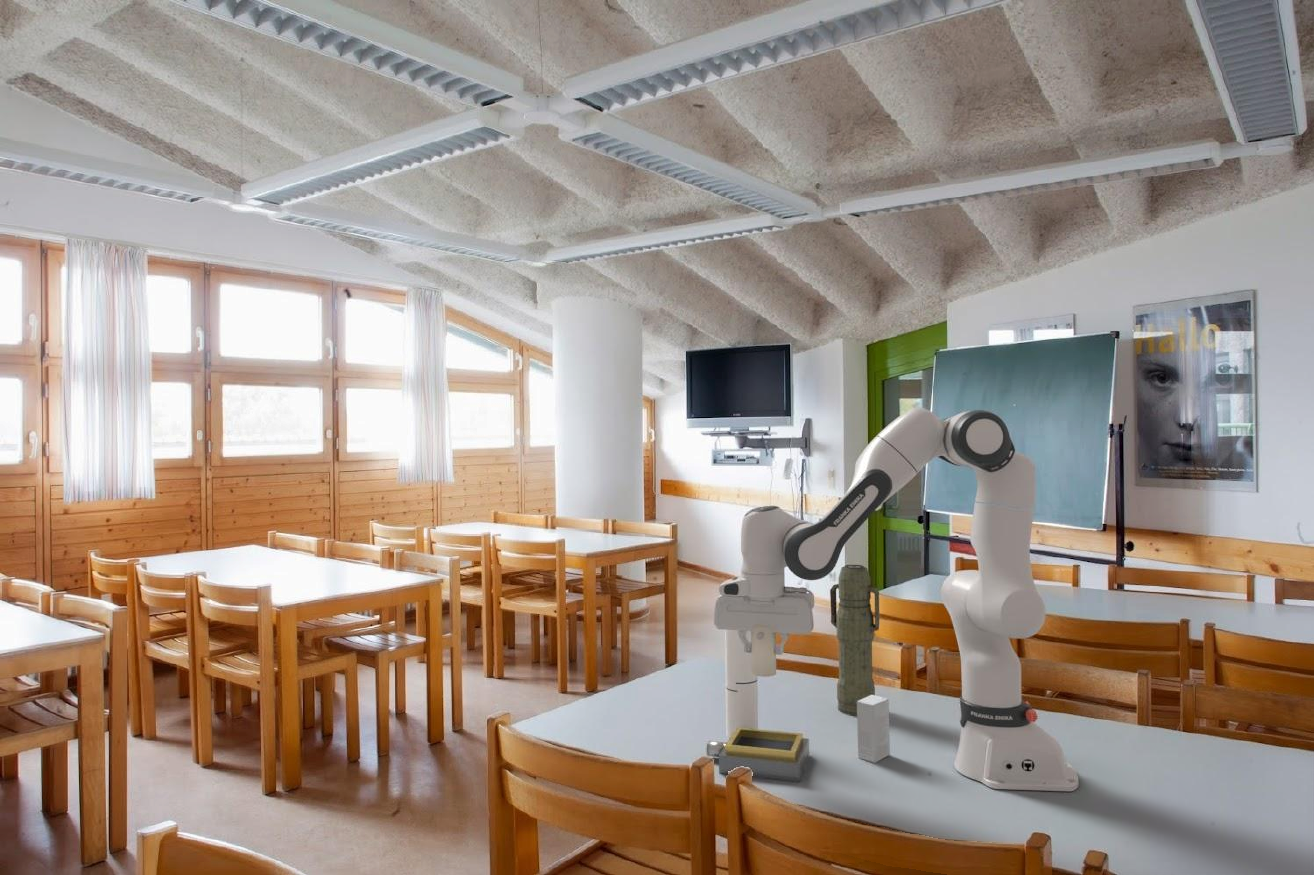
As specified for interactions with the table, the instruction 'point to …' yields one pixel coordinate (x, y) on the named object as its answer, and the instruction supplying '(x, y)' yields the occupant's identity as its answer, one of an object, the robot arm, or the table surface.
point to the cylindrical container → (739, 685)
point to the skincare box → (873, 728)
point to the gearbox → (763, 753)
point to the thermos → (854, 635)
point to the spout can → (763, 651)
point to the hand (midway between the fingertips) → (763, 653)
